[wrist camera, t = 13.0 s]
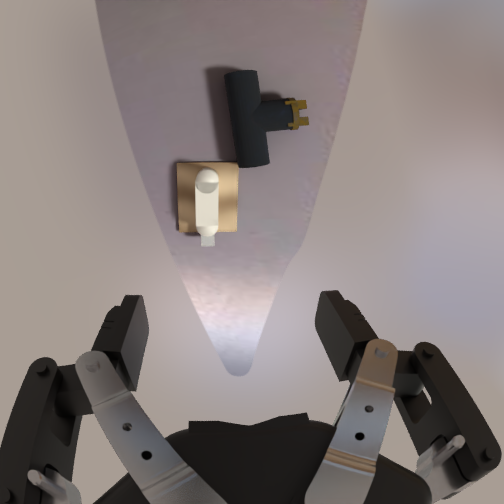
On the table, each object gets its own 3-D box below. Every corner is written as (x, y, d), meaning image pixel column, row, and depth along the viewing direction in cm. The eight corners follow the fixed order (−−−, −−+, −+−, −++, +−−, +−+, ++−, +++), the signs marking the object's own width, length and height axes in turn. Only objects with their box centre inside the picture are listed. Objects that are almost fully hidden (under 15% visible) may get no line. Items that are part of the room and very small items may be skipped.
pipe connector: (302, 66, 34) (313, 159, 40) (293, 72, 38) (304, 156, 45) (224, 72, 33) (239, 169, 40) (224, 78, 38) (237, 164, 45)
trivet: (177, 162, 43) (176, 163, 42) (238, 162, 44) (238, 162, 43) (179, 231, 48) (179, 232, 47) (236, 230, 49) (236, 231, 49)
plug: (197, 167, 43) (195, 170, 39) (218, 167, 43) (218, 170, 40) (198, 240, 48) (196, 250, 45) (218, 240, 49) (218, 249, 45)
